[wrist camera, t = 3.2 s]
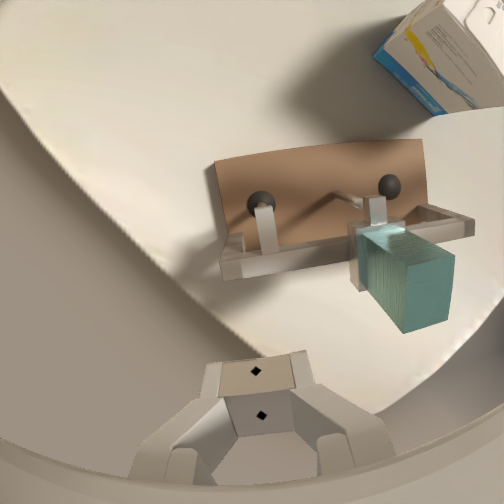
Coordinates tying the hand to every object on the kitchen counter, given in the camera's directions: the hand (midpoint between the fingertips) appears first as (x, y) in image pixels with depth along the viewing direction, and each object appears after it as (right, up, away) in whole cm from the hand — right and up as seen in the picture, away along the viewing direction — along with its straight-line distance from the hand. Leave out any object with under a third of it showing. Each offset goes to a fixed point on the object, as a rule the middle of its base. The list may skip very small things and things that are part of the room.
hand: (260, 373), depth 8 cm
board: (+6, +9, +15) cm, 19 cm away
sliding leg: (+7, +7, +14) cm, 17 cm away
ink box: (+16, +22, +11) cm, 30 cm away
